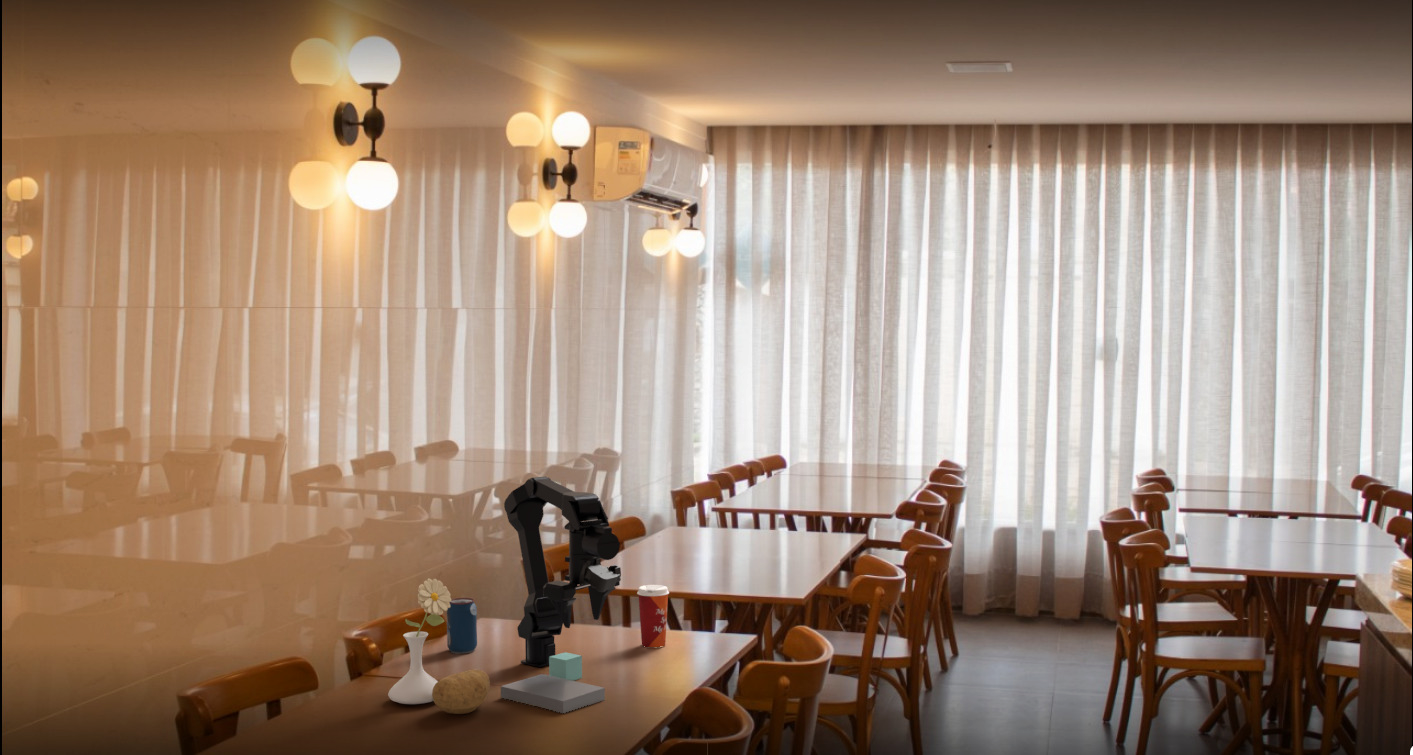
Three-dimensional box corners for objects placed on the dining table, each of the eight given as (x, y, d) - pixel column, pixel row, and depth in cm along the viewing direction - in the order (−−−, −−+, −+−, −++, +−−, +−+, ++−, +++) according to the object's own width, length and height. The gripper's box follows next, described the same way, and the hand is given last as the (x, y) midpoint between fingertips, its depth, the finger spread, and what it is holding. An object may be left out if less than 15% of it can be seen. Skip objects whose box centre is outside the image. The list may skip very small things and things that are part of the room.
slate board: (500, 698, 272) (500, 686, 272) (542, 685, 281) (542, 673, 281) (563, 713, 261) (563, 701, 261) (604, 699, 270) (604, 687, 270)
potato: (504, 705, 267) (503, 666, 266) (461, 724, 254) (460, 683, 254) (464, 699, 271) (464, 661, 271) (421, 718, 259) (420, 677, 258)
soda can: (483, 649, 313) (482, 599, 313) (463, 655, 307) (462, 604, 307) (461, 645, 317) (460, 596, 316) (441, 651, 311) (440, 601, 311)
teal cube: (549, 679, 286) (549, 656, 286) (565, 674, 290) (565, 652, 290) (565, 683, 283) (565, 660, 283) (582, 678, 287) (581, 655, 287)
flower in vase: (396, 712, 263) (394, 587, 262) (382, 697, 273) (380, 577, 272) (459, 703, 269) (458, 581, 268) (444, 689, 279) (442, 572, 278)
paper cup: (665, 650, 311) (665, 591, 311) (634, 648, 313) (633, 590, 312) (673, 642, 319) (672, 584, 318) (642, 640, 321) (641, 583, 320)
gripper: (580, 564, 272) (580, 638, 273) (638, 550, 287) (638, 621, 288) (541, 557, 279) (541, 629, 280) (600, 544, 294) (600, 613, 295)
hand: (582, 623), depth 286 cm, fingers open, 9 cm apart
